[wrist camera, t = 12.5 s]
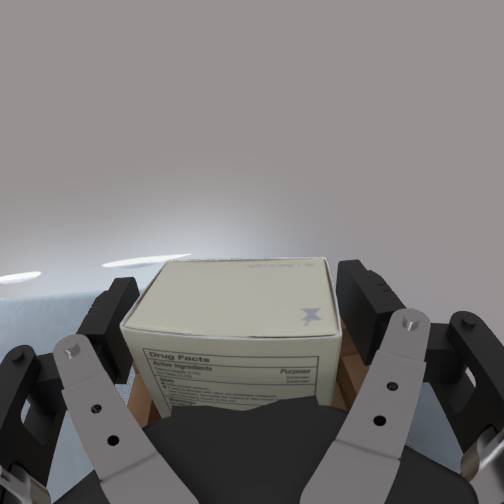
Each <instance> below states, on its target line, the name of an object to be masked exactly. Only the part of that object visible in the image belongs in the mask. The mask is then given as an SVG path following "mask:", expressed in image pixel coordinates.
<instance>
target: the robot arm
mask: <svg viewBox="0 0 504 504" xmlns="http://www.w3.org/2000/svg"><path fill="white" fill-rule="evenodd" d="M336 283H337V284H336V296H337V301H338V308H339V314H340V316H341V318H342V320H343V322H344V324H345V326H346V328H347V330H348V332H349V334H350V336H351V338H352V340H353V343H354V345H355V347H356V349H357V351H358V353H359V355H360V357H361V359H362V361H363V363H364V366H368V365H371V366H370V368H369V371H368V373H367V375H366V378H365V380H364V382H363V384H362V387H361V389H360V391H359V393H358V395H357V397H356V399H355V402H354V404H353V406H352V408H351V410H350V412H349V411H346V410H344V409H341V408H337V407H333V406H327V405H319V404H318V400H317V397H316V395H312V396H306V397H299V398H291V399H283V400H279V401H276V402H273V403H269V404H266V405H263V406H260V407H256V408H253V409H250V410H245V411H240V410H233V409H226V408H220V407H213V406H207V405H203V406H172V411H171V416H169V417H165V418H162V419H159V420H156V421H154V422H152V423H150V424H148V425H146V426H144V427H143V428H142V429H141V427H140V426H139V424H138V423H137V421H136V420H135V418H134V417H133V415H132V414H131V412H130V411H129V409H128V408H127V406H126V404H125V403H124V401H123V400H122V398H121V396H120V395H119V393H118V391H117V390H116V388H115V384H126V383H127V380H128V376H129V373H130V369H131V366H132V362H133V357H132V355H131V353H130V350H129V348H128V346H127V344H126V341H125V339H124V337H123V334H122V332H121V329H120V323H121V322H122V320H123V319H124V317H125V316H126V314H127V313H128V312H129V310H130V309H131V308H132V306H133V305H134V303H135V302H136V301H137V299H138V298H139V296H140V294H139V290H138V287H137V283H136V280H135V278H134V277H125V278H115V279H114V281H113V283H112V285H111V286H110V288H109V290H108V291H104V292H103V293H102V294H100V295H99V296H98V297H97V298H96V299H95V301H94V303H93V304H92V306H91V307H92V308H90V310H89V311H88V314H87V315H86V317H85V318H84V320H83V322H82V324H81V326H80V327H79V329H78V331H77V333H76V334H75V335H70V336H67V337H65V338H63V339H62V340H60V341H59V342H58V343H57V344H56V346H55V347H54V350H53V353H49V354H44V355H39V356H37V355H36V353H35V352H34V350H33V348H32V347H31V346H29V345H20V346H17V347H15V348H13V349H12V350H10V351H9V352H8V353H7V355H6V356H5V358H4V359H3V361H2V363H1V365H0V504H51V499H50V495H49V492H48V490H47V489H46V486H47V481H48V476H49V472H50V468H51V463H52V459H53V455H54V451H55V448H56V444H57V440H58V436H59V433H60V429H61V426H62V422H63V419H64V416H65V413H66V410H68V411H69V413H70V416H71V418H72V421H73V423H74V426H75V428H76V431H77V433H78V435H79V437H80V440H81V442H82V444H83V446H84V448H85V451H86V453H87V455H88V457H89V459H90V461H91V463H92V465H93V467H94V470H93V471H92V472H91V473H90V474H88V475H87V476H86V477H85V478H84V479H82V480H81V481H80V482H79V483H78V484H76V485H75V486H74V487H73V488H72V489H70V490H69V491H68V492H67V493H65V494H64V495H63V496H62V497H61V498H59V499H58V500H57V501H56V502H54V503H53V504H504V346H503V345H502V344H501V342H500V341H499V340H498V339H497V337H496V336H495V335H494V334H493V333H492V331H491V330H490V329H489V328H488V326H487V325H486V324H485V323H484V322H483V320H482V319H481V318H480V317H478V316H477V315H475V314H473V313H471V312H467V311H458V312H456V313H454V314H453V315H452V316H451V319H450V322H449V324H442V323H439V324H438V323H430V320H429V318H428V317H427V316H426V315H425V314H423V313H422V312H420V311H418V310H415V309H407V308H406V307H405V306H404V305H403V303H402V302H401V301H400V299H399V298H398V297H397V295H396V294H395V293H394V292H393V291H392V289H391V288H390V287H389V285H387V283H386V282H385V281H384V279H383V278H382V277H381V276H380V275H378V274H377V273H375V272H373V271H372V270H368V271H367V270H366V268H365V267H364V266H363V265H362V264H361V262H360V261H359V260H347V261H340V262H339V264H338V271H337V282H336ZM467 367H468V368H469V369H470V371H471V372H472V374H473V376H474V378H475V381H476V387H474V385H473V384H472V382H471V381H470V379H469V377H468V375H467V374H466V372H465V371H466V369H467ZM422 382H429V383H430V384H431V386H432V388H433V390H434V392H435V394H436V396H437V398H438V400H439V402H440V404H441V406H442V408H443V410H444V412H445V414H446V417H447V419H448V421H449V423H450V425H451V427H452V429H453V431H454V434H455V436H456V438H457V440H458V442H459V445H460V447H461V449H462V451H463V454H464V455H463V457H462V459H461V465H460V466H461V473H460V475H459V474H458V473H456V472H454V471H452V470H450V469H448V468H446V467H444V466H442V465H441V464H439V463H437V462H435V461H433V460H431V459H429V458H428V457H426V456H424V455H422V454H420V453H419V452H417V451H415V450H413V449H412V448H410V447H408V446H406V445H405V442H406V439H407V436H408V433H409V430H410V426H411V423H412V420H413V416H414V413H415V409H416V405H417V402H418V398H419V394H420V390H421V386H422ZM26 399H27V401H28V402H29V403H30V408H29V410H28V413H27V416H26V418H25V421H24V424H23V423H22V421H21V411H22V408H23V406H24V403H25V401H26Z"/></svg>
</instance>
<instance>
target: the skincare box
mask: <svg viewBox="0 0 504 504" xmlns="http://www.w3.org/2000/svg"><path fill="white" fill-rule="evenodd" d="M120 329H121V332H122V334H123V337H124V339H125V341H126V344H127V346H128V348H129V350H130V353H131V355H132V357H133V360H134V362H135V364H136V366H137V368H138V371H139V373H140V375H141V377H142V379H143V381H144V383H145V385H146V387H147V389H148V392H149V394H150V396H151V398H152V399H153V401H154V403H155V405H156V407H157V409H158V411H159V413H160V415H161V417H162V418H165V417H169V416H171V411H172V406H203V405H207V406H213V407H220V408H226V409H233V410H240V411H245V410H250V409H253V408H256V407H260V406H263V405H266V404H269V403H273V402H276V401H279V400H283V399H291V398H299V397H306V396H312V395H316V397H317V400H318V404H319V405H327V406H331V405H332V399H333V394H334V388H335V382H336V375H337V369H338V363H339V356H340V349H341V342H342V329H341V322H340V315H339V308H338V301H337V296H336V292H335V286H334V281H333V277H332V273H331V269H330V266H329V262H328V260H327V258H325V257H292V258H245V259H244V258H240V259H238V258H237V259H236V258H231V259H182V260H175V259H173V260H168V261H167V262H166V263H165V264H164V265H163V266H162V268H161V269H160V270H159V272H158V273H157V274H156V275H155V277H154V278H153V279H152V281H151V282H150V283H149V285H148V286H147V287H146V288H145V290H144V291H143V292H142V294H141V295H140V296H139V298H138V299H137V301H136V302H135V303H134V305H133V306H132V308H131V309H130V310H129V312H128V313H127V314H126V316H125V317H124V319H123V320H122V322H121V323H120Z"/></svg>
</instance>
